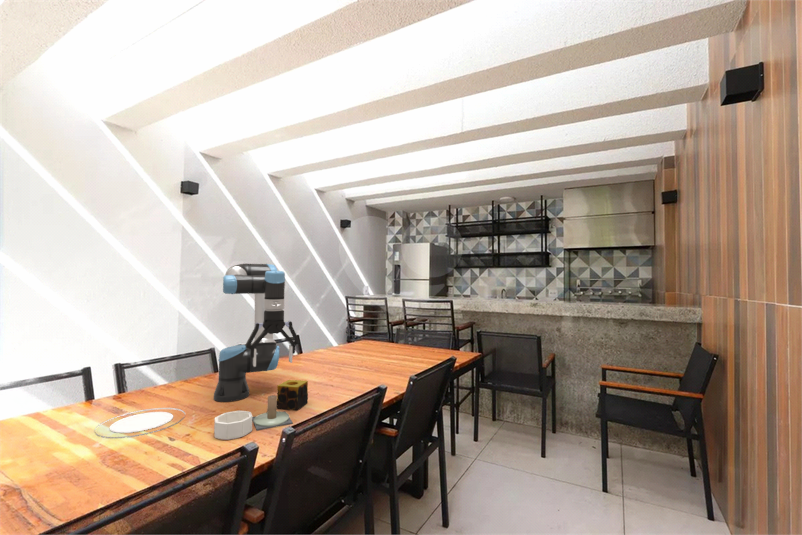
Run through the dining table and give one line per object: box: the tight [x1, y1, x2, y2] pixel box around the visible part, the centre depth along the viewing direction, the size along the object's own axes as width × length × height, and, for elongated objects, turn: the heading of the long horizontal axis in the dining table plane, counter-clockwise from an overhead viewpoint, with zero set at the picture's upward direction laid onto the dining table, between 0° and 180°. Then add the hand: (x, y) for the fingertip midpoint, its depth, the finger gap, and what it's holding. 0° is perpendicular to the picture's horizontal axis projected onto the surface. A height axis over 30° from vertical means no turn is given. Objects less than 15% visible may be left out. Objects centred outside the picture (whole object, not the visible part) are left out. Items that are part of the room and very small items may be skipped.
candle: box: [276, 379, 309, 411], centre depth 155 cm, size 10×10×10 cm
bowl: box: [213, 410, 253, 441], centre depth 127 cm, size 12×12×6 cm
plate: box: [94, 407, 186, 439], centre depth 136 cm, size 28×28×1 cm
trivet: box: [252, 410, 294, 432], centre depth 138 cm, size 13×13×1 cm
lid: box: [253, 394, 290, 426], centre depth 138 cm, size 13×13×9 cm
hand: (272, 363), depth 139 cm, fingers open, 13 cm apart
